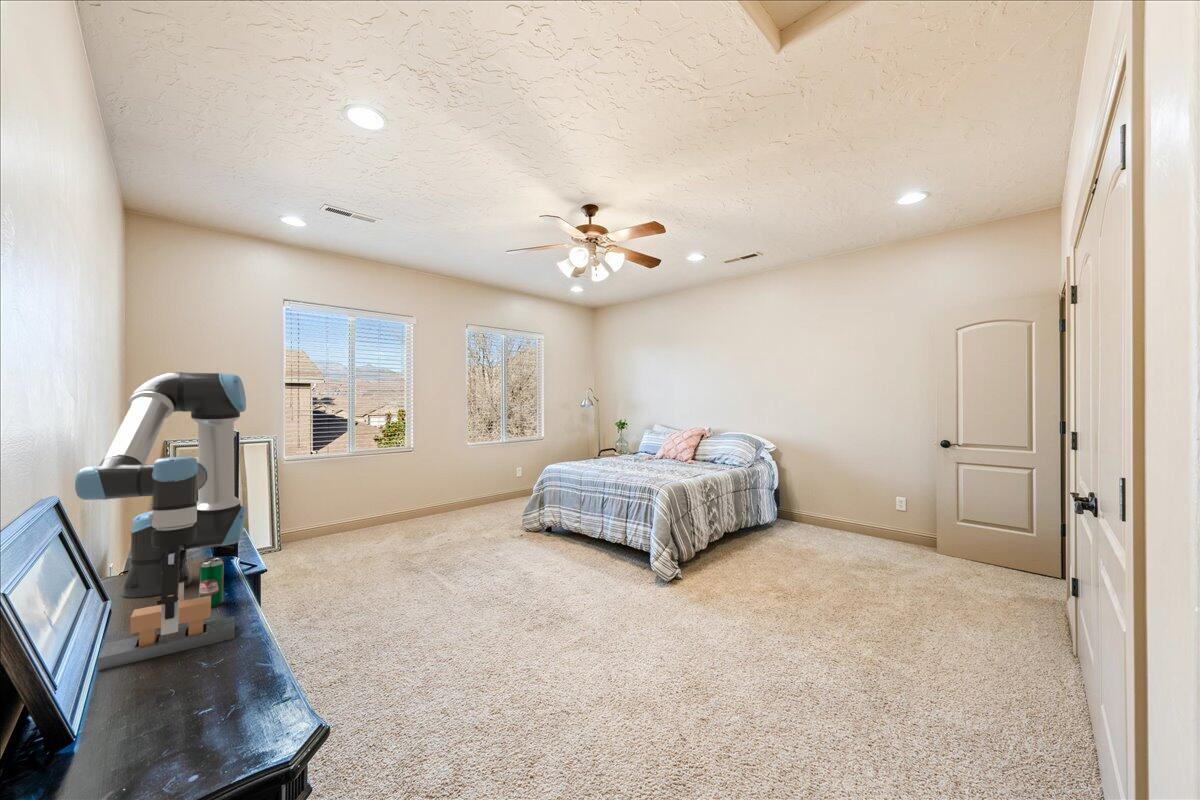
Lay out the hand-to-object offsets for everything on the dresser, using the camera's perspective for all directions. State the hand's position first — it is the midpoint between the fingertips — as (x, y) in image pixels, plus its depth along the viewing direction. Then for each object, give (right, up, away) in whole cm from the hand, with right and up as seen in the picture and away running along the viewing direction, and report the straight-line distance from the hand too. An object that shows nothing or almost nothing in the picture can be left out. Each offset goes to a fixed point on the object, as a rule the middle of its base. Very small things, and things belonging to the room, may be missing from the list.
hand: (172, 621), depth 106 cm
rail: (0, -5, 0) cm, 5 cm away
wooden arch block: (0, -5, 0) cm, 5 cm away
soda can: (-10, -6, +22) cm, 25 cm away
